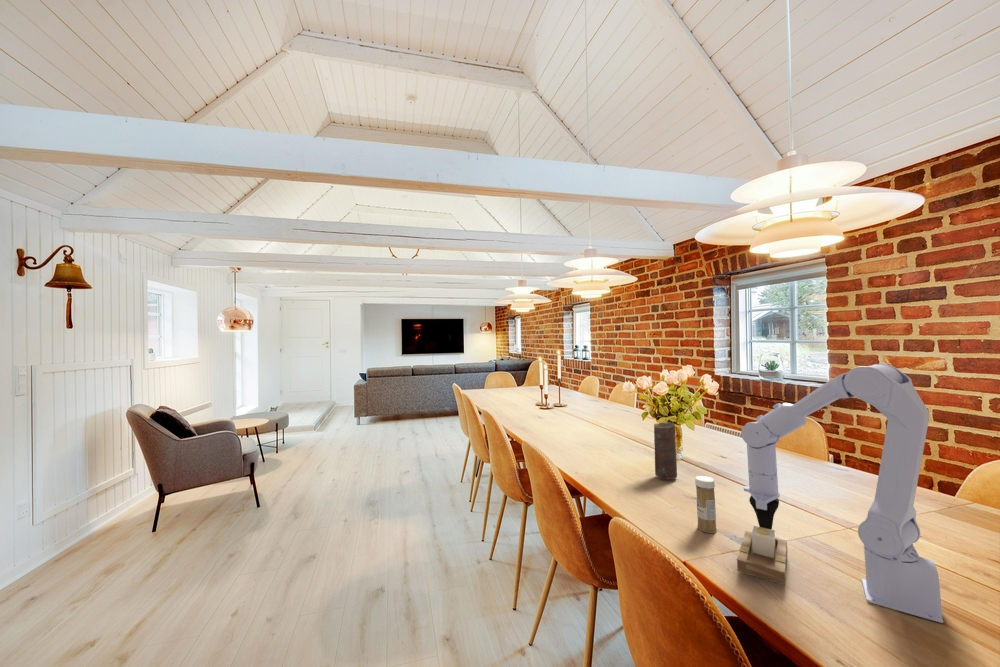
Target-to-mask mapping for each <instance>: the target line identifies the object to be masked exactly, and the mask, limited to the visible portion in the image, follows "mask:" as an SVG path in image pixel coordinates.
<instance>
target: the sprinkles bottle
mask: <svg viewBox="0 0 1000 667" xmlns="http://www.w3.org/2000/svg"><path fill="white" fill-rule="evenodd" d="M715 482H716V481H715V479H714V478H712V477H710V476H707V475H706V476H705V475H697V476H695V478H694V485H695V488H696V515H697V516H696V517H697V529H698V530H699V531H701V532H703V533H706V534H707V533H708V534H713V533H716V532H717V530H718V529H717V519H716V518H717V514H716V512H717V511H716V509H717V508H716V497H715V494H716V493H715V487H716V484H715Z"/></svg>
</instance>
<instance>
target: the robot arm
mask: <svg viewBox="0 0 1000 667" xmlns="http://www.w3.org/2000/svg"><path fill="white" fill-rule="evenodd" d="M850 398H857V399H859V400H861V401H863V402H865V403H866V404H869V405H871V406H873V407H874V408H875V409H876V410H877V411H878V412H880V414H882V415H883V417H885V418H886V419H887V424H886V430H885V436H884V442H883V445H882V446H883V448H882V453H881V459H880V465H879V471H878V478H877V483H876V490H875V494H874V498H873V501H872V503H871V505H870V507H869V509H868V511H867V515H866V516H867V517H866V518H865V520H863V521H861V523H860V524H859V525H858V527H857V534H858V537H859V540H860V541H861V543H862V544H863V552H864V554H863V555H864V565H865V566H864V567H865V578H861V582H862V586H863V591H864V595H865V599H866V602H868V603H870V604H875V605H878V606H880V607H884V608H888V609H891V610H895V611H898V612H901V613H906V614H909V615H911V616H916V617H919V618H922V619H926V620H929V621H933V622H938V623H940V624H943V623H944V620H943V613H942V612H943V611H942V600H941V599H942V597H941V596H942V595H941V586H940V579H939V573H938V569H937V566H936V564H935V562H934V561H933V559H928V558H925V557H923V556H919V554H918V551H917V549H916V548H915V546H914V544H915V543H917V542H918V541H919V540H920V538H921V529H920V527H919V525H918V522H917V520H916V518H917V510H916V509H915V506H914V505H915V498H916V493H917V488H918V482H919V477H920V471H921V466H922V460H923V456H924V455H923V454H924V450H925V444H926V440H927V438H926V437H927V432H928V426H929V422H930V411H929V409H928V407H927V406H926V405H925V403H924V402H923V400H922V398H921V397H920V395H919V393H918V391H917V390H916V389H915V387H914V384H913V381H912V378H910V376H908V375H907V374H906V373H904V372H902V370H900V369H899V368H897V367H895V366H893V365H891V364H888V363H887V364H885V363H875V364H871V365H868V366H866V365H865V366H864V365H863V366H855V367H853V368H851V369H850V370H848V372H844V373H842V374H839V375H837V376H834V378H831V379H829V380H828V381H827V382H825V383H823V384H822V385H821V386H819V387H817V388H816V389H815V390H813V391H811V392H810V393H808V394H807V395H806V396H804V397H802V398H800V399H799V401H797V402H795V403H790V402H789V403H788V402H784V403H780V402H779V403H775V404H774V405H773V406H772V408H773V409H772V410H770V411H768V412H767V413H766V414H764V415H763V414H760V415H758V416H756V420H757V421H751V422H750V421H749V422H747V423H745V425H744V426H743V427H742V429H741V432H740V433H741V438H742V440H743V441H744V443H745V444H746V451H747V453H746V454H747V469H748V470H747V472H748V485H744V486H743V491H744V492H747V493H749V494H750V496H749V498H748V499H749V504H750V505H751V507H752V508H753V510H754V513H755V515H756V520H757V523H758V525H759V526H758V527H762V528H766V529H771V530H773V525H774V524H773V523H774V516H775V513H776V512H777V510H778V509H779V506H780V499H779V498H780V492H779V483H778V482H779V480H778V465H777V451H776V449H777V448H776V445H777V443H778V442H779V441H780V440H781V439H782V438H785V436H787V435H788V434H791V433H792V432H794V431H796V430H798V429H800V428H802V427H804V426H805V424H806V423H807V417H808V416H809V415H811V414H813V413H815V412H817V411H818V410H821V409H823V408H824V407H826V406H829V405H830V404H832V403H834V402H836V401H837V400H840V399H850Z"/></svg>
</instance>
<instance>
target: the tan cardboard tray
mask: <svg viewBox="0 0 1000 667" xmlns="http://www.w3.org/2000/svg"><path fill="white" fill-rule="evenodd" d="M775 547H776V549H775V557H774V558H771V557H767V556H763V555H759V554H756V553H753V549H752V531H748V530H745V531H744V535H743V538H742V542H741V545H740V547H739V551H738V555H737V558H736V563H737V572H740V573H743V574H746V575H749V576H754V577H757V578H761V579H763V580H767V581H770V582H773V583H774V582H775V583H777V584H780V585H786V580H787V579H786V578H787V565H788V540H786V539H784V538H783V539H782V538H779V537H775Z"/></svg>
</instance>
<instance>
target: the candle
mask: <svg viewBox="0 0 1000 667" xmlns="http://www.w3.org/2000/svg"><path fill="white" fill-rule="evenodd" d="M653 433H654V434H653V436H654V440H653V441H654V442H653V443H654V475H655V476H656V477H658V479H660V480H674V479H677V478H678V468H677V467H678V462H677V443H676V442H677V441H676V424H675V423H673V422H668V421H665V422H659V423H654V424H653Z"/></svg>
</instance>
